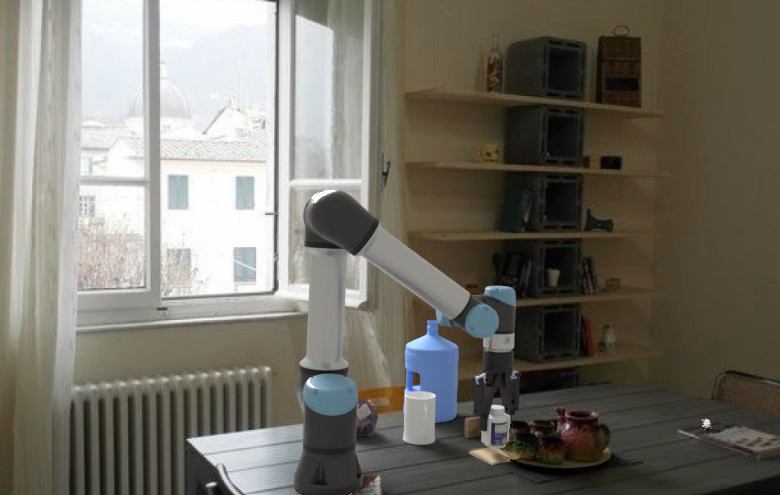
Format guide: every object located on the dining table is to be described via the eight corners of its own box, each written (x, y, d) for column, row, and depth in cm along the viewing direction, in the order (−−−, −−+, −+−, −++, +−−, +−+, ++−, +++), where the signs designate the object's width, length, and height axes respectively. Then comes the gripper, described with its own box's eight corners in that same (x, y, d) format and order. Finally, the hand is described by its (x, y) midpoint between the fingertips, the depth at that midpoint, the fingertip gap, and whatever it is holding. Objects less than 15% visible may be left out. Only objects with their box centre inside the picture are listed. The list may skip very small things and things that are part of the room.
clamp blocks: (487, 447, 196) (488, 428, 196) (464, 436, 205) (464, 418, 204) (514, 442, 201) (515, 423, 201) (490, 431, 210) (491, 413, 209)
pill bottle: (480, 442, 191) (482, 404, 191) (500, 441, 193) (501, 403, 192) (489, 449, 186) (491, 410, 185) (509, 448, 188) (511, 409, 187)
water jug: (457, 410, 230) (461, 318, 228) (455, 425, 214) (458, 327, 212) (406, 406, 232) (409, 315, 230) (399, 421, 216) (402, 324, 214)
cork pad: (492, 465, 183) (492, 462, 183) (468, 453, 191) (468, 451, 191) (520, 459, 188) (520, 456, 188) (496, 448, 196) (496, 446, 196)
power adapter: (712, 431, 217) (713, 420, 217) (705, 432, 216) (706, 421, 216) (704, 428, 220) (705, 417, 220) (697, 429, 219) (698, 418, 219)
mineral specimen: (334, 432, 199) (338, 394, 202) (344, 437, 208) (348, 400, 212) (370, 435, 197) (374, 396, 200) (379, 439, 206) (382, 402, 209)
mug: (440, 449, 194) (442, 402, 193) (407, 449, 193) (408, 402, 192) (431, 434, 206) (433, 390, 205) (400, 434, 205) (401, 390, 204)
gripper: (479, 355, 180) (476, 451, 181) (536, 348, 190) (533, 440, 191) (459, 349, 186) (456, 442, 188) (516, 343, 196) (513, 431, 197)
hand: (495, 441), depth 189 cm, fingers closed on pill bottle, 5 cm apart
